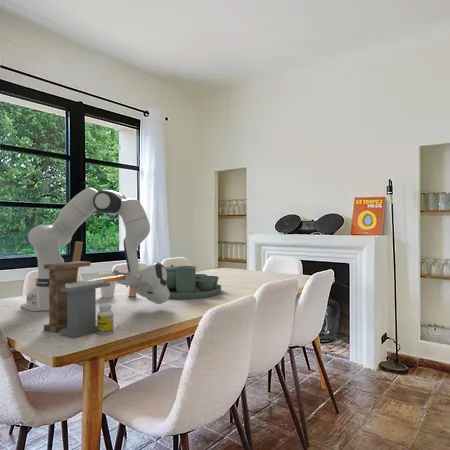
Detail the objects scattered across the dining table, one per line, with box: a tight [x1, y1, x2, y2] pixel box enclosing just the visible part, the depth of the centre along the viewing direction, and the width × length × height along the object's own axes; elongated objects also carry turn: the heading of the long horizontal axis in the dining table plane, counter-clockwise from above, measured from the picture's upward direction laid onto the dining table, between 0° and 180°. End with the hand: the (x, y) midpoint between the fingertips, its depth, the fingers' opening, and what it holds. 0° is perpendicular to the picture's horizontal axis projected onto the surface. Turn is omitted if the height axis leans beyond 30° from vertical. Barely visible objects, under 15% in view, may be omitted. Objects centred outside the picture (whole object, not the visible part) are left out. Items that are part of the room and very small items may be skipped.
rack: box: [59, 283, 110, 339], centre depth 129 cm, size 7×16×16 cm, turn 150°
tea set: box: [165, 264, 222, 300], centre depth 206 cm, size 40×40×16 cm
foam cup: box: [98, 271, 117, 299], centre depth 195 cm, size 10×9×13 cm
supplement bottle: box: [96, 303, 114, 336], centre depth 127 cm, size 5×5×10 cm
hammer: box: [71, 241, 84, 276], centre depth 211 cm, size 20×5×30 cm, turn 82°
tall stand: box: [43, 260, 92, 334], centre depth 135 cm, size 7×15×24 cm, turn 150°
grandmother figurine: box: [125, 285, 137, 298], centre depth 194 cm, size 8×4×13 cm, turn 101°
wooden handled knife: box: [65, 275, 125, 289], centre depth 134 cm, size 3×25×2 cm, turn 150°
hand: (122, 271), depth 144 cm, fingers open, 8 cm apart
